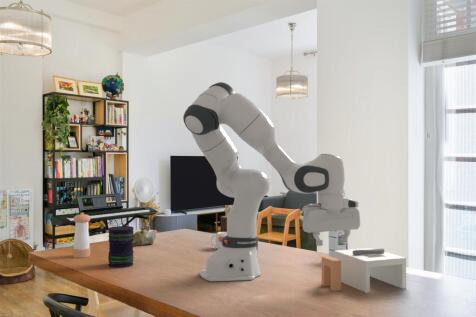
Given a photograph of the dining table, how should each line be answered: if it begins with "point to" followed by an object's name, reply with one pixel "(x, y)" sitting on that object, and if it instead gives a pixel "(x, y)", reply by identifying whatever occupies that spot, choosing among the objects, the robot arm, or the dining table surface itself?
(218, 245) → the mug
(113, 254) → the storage jar
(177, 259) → the dining table surface
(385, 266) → the shelf
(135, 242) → the ceramic sculpture
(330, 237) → the syrup box
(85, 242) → the salt shaker
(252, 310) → the dining table surface
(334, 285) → the notched wooden block
